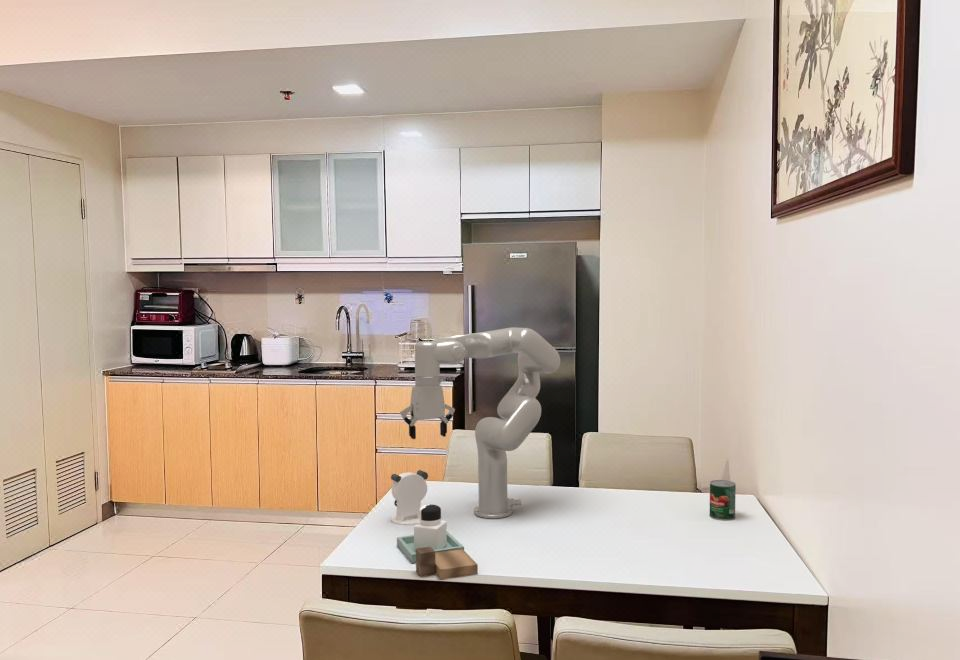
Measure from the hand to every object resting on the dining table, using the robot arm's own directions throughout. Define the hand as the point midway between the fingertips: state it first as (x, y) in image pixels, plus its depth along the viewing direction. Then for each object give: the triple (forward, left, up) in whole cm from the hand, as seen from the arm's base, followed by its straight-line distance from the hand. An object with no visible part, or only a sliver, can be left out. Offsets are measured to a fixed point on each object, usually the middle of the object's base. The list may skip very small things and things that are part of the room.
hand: (428, 437), depth 220 cm
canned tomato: (-90, +27, -28) cm, 98 cm away
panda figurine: (+3, -11, -28) cm, 31 cm away
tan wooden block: (+5, +34, -29) cm, 45 cm away
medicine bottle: (+6, +19, -28) cm, 34 cm away
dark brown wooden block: (+12, +34, -28) cm, 46 cm away
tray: (+6, +19, -28) cm, 35 cm away
